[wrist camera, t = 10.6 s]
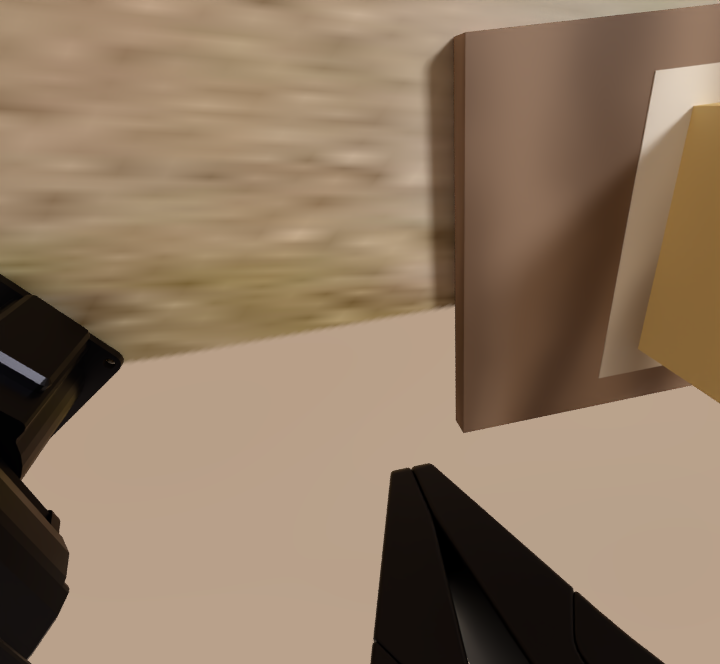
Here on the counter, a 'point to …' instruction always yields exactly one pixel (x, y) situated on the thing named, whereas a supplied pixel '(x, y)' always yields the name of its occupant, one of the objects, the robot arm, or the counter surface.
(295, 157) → the counter surface
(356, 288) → the counter surface
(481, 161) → the walnut board
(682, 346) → the t block
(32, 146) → the counter surface
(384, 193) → the counter surface
